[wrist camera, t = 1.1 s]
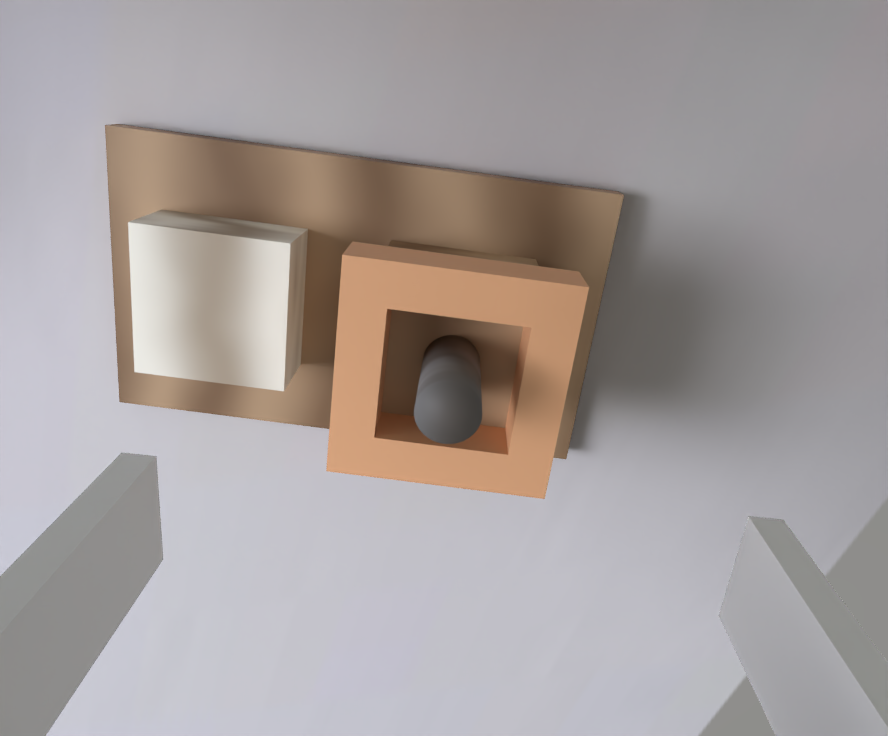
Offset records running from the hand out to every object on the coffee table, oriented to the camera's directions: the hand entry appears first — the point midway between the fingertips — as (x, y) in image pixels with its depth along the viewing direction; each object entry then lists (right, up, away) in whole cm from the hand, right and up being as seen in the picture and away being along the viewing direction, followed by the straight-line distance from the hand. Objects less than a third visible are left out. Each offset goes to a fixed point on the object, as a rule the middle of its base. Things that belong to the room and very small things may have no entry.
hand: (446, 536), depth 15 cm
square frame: (0, +4, +13) cm, 14 cm away
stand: (-5, +7, +20) cm, 22 cm away
